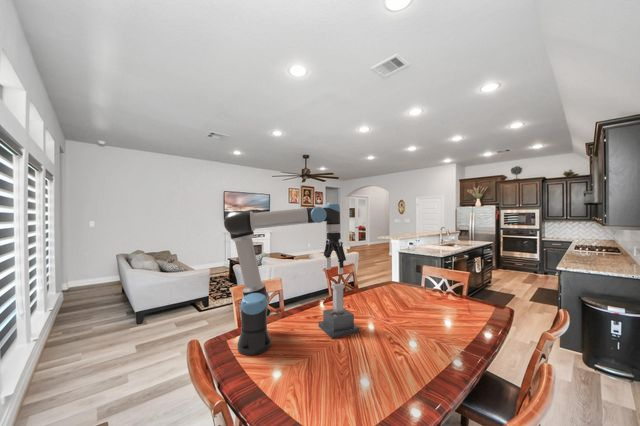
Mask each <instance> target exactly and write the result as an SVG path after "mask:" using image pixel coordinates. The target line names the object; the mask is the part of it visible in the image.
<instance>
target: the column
mask: <svg viewBox="0 0 640 426" xmlns="http://www.w3.org/2000/svg"><path fill="white" fill-rule="evenodd" d="M345 287H346V285H345V284H342V283H336V284H335V283H334V284H330V288H331V289H332V309H333V312H334V314H336V315H338V314H343V308H344V289H345Z"/></svg>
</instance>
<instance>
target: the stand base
mask: <svg viewBox="0 0 640 426" xmlns="http://www.w3.org/2000/svg"><path fill="white" fill-rule="evenodd" d="M322 316H323V319H322V321H318V327H319V329H321V331H323V332H324V333H325V334H326V335H328V337H329V338H330V339H331V340H332V339H337V338H342V337H345V336H350V335H355V334H358V333H360V327H359V326H358V325H356V324H355V314H354V313H353V312H351V311H349V310H347V309H346V308H344V307H343V314H338V315H336V314H334V312H333V308H330V309H325V310H322Z"/></svg>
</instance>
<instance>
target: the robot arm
mask: <svg viewBox="0 0 640 426" xmlns="http://www.w3.org/2000/svg"><path fill="white" fill-rule="evenodd" d="M323 222H325V223H326V241H325V247H324V250H323V251H324V252H323V257H325V269H326V270H328V271H329V270H332V252H333V251H334V252H335V255H336V257H337V261H338V262H337V268H338V269H337V272H338V273H337V274H338V275H343V274H344V266H345V265H344V262H345V261H347V259H346V255H345V250H344V246H343V242H342V241H339V240H342V239H341V238H342V237H341V235H342V234H341V207H340V204H339V203H326V204H325V206H324V207H322V206H312V207H304V208H303V207H302V208H293V209H282V210H272V211H270V210H269V211H261V212H253V211H252V210H251V211H250V210H249V211H248V210H247V211H244V210H232V211H230V212H229V213H228V214H227V215H225V217H224V220H223V225H224V228H225V230H226V231H227V232H228V233H229V234H230V235H229V236H230V240H231V241H234V244H235V249H236V252H237V257H238V262H239V266H240V271H241V275H242V280H243V284H244V288H243V290H242V295H243V296H242V299H241V302H240V319H241V321H240V322H241V325H240V328H241V331H240V332H241V333H240V336H239V339H238V341H237V351H238V353H240V354H242V355H245V356H254V355H260V354H263V353H265V352H266V351H268V350H270V348H271V346H272V340H271V339H272V338H271V337H270V334H269V330H268V307H269V303H270V296H269V293H268V291H267V286H266V284H265V283H263V282H262V278H261V274H260V270H259V264H258V260H257V256H256V252H255V245H254V242H253V241H254V240H253V236H254V234H255V232H254V231H255V230H257V229H267V228H276V227H278V228H279V227H287V226H288V227H289V226H295V225H297V226H298V225H305V224H315V223H316V224H319V223H323Z"/></svg>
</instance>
